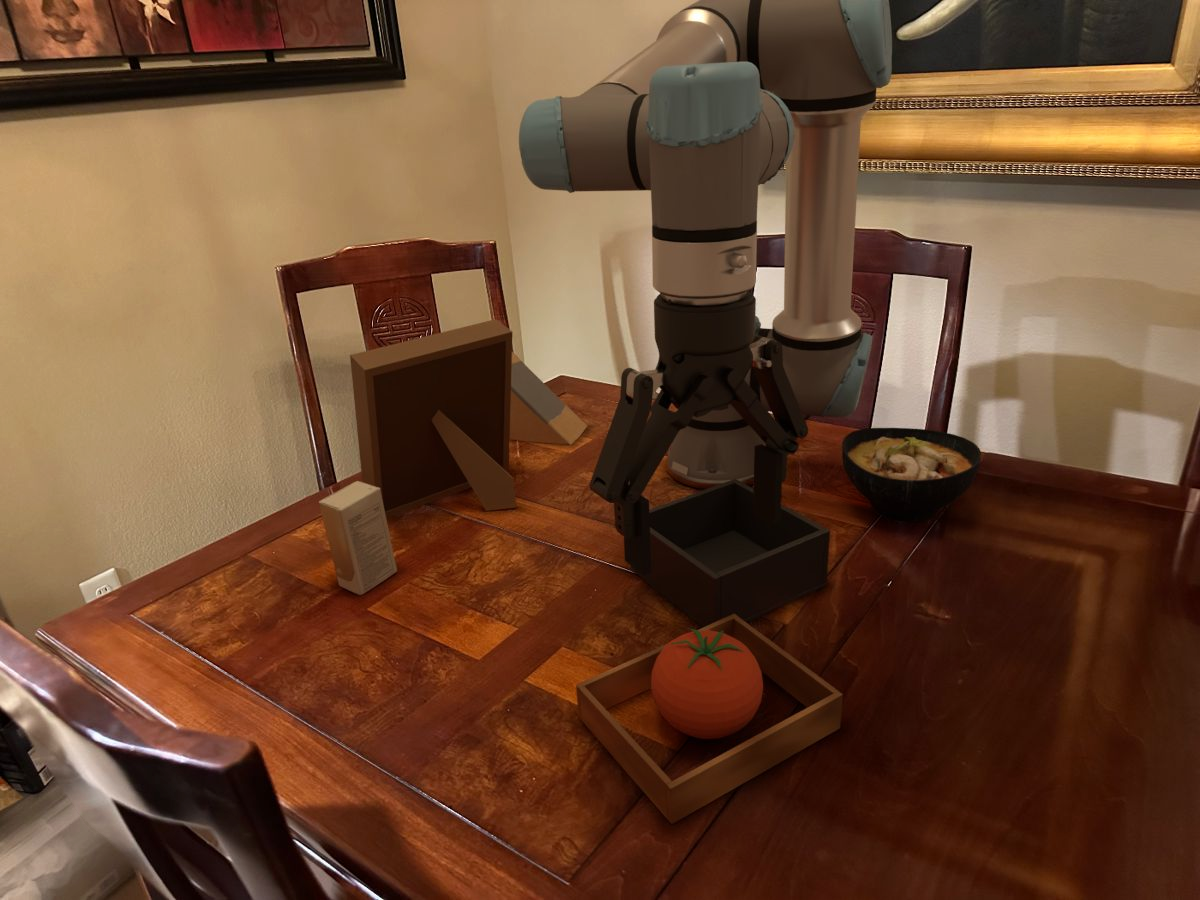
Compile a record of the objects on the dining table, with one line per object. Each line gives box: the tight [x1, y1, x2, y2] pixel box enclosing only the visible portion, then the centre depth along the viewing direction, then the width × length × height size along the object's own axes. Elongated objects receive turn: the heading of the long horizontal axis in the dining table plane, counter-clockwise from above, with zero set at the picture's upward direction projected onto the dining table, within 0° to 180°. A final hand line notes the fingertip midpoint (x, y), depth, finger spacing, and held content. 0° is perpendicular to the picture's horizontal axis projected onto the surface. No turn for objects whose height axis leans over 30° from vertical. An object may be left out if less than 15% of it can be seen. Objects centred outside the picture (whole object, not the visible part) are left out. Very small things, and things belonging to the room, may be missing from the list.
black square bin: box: [629, 479, 831, 628], centre depth 100 cm, size 17×17×8 cm
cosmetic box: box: [318, 480, 398, 596], centre depth 103 cm, size 6×4×12 cm
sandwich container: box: [510, 351, 588, 446], centre depth 142 cm, size 9×15×15 cm, turn 71°
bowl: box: [841, 427, 982, 523], centre depth 112 cm, size 17×17×10 cm
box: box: [575, 614, 844, 825], centre depth 78 cm, size 19×15×4 cm
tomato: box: [650, 628, 764, 740], centre depth 77 cm, size 10×10×10 cm
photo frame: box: [349, 318, 517, 519], centre depth 117 cm, size 15×22×25 cm
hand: (705, 541), depth 71 cm, fingers open, 13 cm apart
